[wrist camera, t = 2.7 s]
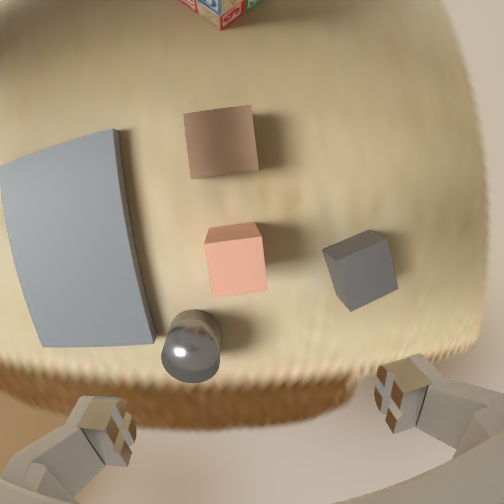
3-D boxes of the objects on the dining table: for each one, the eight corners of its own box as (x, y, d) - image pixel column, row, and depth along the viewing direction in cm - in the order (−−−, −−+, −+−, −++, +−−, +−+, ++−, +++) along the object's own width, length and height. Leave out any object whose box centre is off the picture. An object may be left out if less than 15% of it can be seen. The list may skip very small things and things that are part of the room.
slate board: (48, 340, 29) (42, 347, 27) (6, 166, 23) (-2, 167, 22) (156, 336, 29) (153, 343, 28) (118, 130, 24) (112, 128, 22)
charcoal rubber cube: (336, 294, 30) (350, 311, 26) (321, 248, 28) (335, 261, 24) (379, 274, 30) (398, 288, 26) (367, 229, 28) (387, 238, 24)
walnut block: (196, 178, 26) (191, 179, 22) (190, 122, 25) (183, 114, 21) (254, 170, 26) (258, 170, 22) (247, 114, 25) (250, 105, 21)
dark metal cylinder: (176, 355, 30) (169, 384, 25) (165, 312, 29) (154, 338, 24) (224, 350, 30) (223, 380, 25) (216, 306, 29) (214, 332, 24)
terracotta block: (215, 271, 28) (212, 297, 22) (209, 228, 27) (204, 243, 21) (259, 265, 28) (267, 290, 22) (254, 222, 27) (261, 236, 21)
